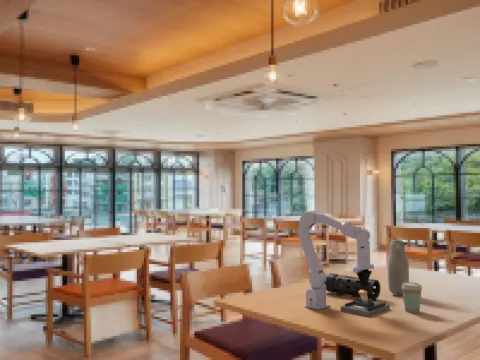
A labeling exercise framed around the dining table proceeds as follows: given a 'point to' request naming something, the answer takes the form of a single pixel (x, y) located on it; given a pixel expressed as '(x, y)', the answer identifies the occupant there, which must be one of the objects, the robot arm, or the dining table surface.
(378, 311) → the breaker panel
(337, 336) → the dining table surface
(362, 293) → the breaker lever
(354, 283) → the muzzle brake
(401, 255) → the grey bottle
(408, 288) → the coffee cup
